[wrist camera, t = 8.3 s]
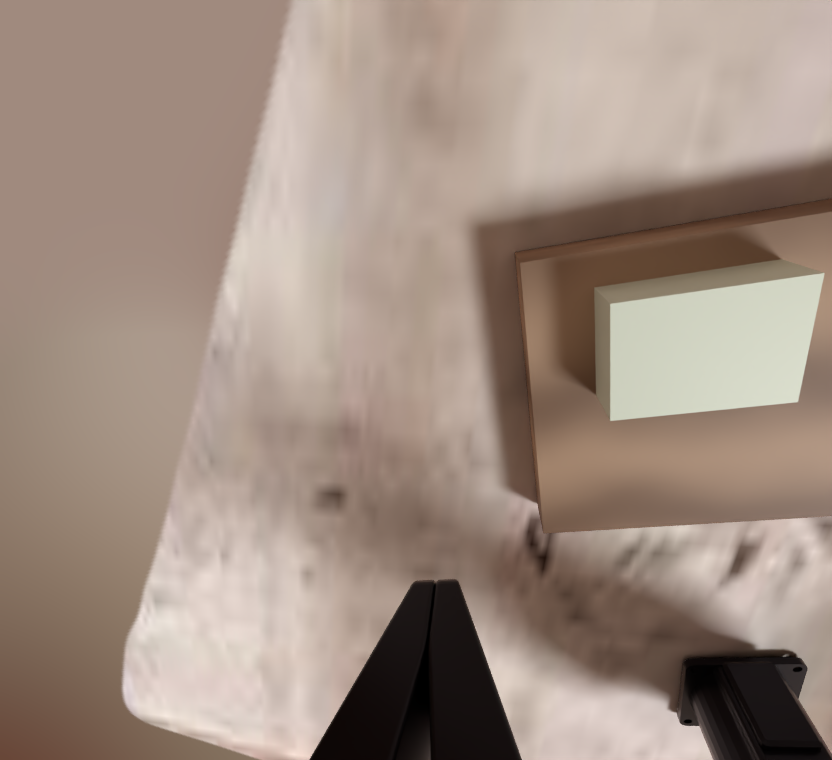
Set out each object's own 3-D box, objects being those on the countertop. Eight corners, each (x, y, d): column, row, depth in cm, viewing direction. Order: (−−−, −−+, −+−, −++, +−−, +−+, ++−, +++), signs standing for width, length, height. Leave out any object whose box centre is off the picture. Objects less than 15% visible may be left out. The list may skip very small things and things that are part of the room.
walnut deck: (845, 482, 21) (881, 513, 19) (537, 504, 23) (543, 533, 21) (931, 181, 15) (993, 185, 13) (514, 252, 18) (520, 263, 16)
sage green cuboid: (763, 376, 17) (798, 401, 15) (596, 394, 18) (610, 421, 16) (782, 259, 15) (824, 272, 13) (594, 287, 16) (610, 303, 14)
